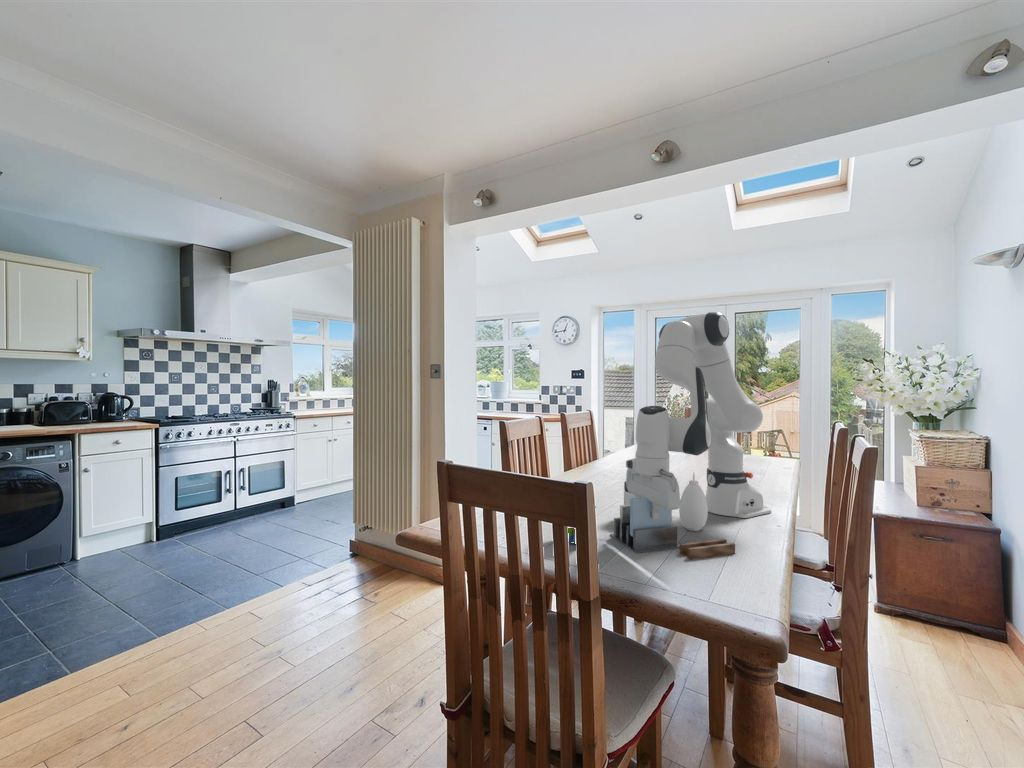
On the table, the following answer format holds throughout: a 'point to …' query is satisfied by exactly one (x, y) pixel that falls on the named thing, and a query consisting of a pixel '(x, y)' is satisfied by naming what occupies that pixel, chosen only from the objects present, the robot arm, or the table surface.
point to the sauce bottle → (693, 507)
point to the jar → (628, 495)
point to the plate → (646, 515)
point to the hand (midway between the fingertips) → (651, 517)
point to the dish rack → (643, 535)
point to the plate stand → (707, 549)
